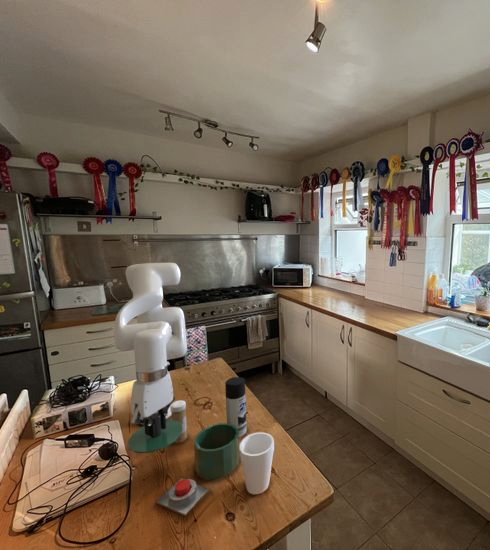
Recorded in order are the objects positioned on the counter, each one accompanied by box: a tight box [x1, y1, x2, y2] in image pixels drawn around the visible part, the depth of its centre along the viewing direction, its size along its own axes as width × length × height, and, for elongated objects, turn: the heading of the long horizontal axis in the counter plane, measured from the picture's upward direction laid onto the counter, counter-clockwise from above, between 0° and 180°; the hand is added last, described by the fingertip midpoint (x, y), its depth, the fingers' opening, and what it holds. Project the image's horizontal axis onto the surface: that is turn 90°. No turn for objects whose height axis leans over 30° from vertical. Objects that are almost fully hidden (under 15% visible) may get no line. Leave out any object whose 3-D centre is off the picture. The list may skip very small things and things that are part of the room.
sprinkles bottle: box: [171, 400, 188, 444], centre depth 100 cm, size 5×5×14 cm
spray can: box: [224, 376, 248, 438], centre depth 103 cm, size 7×7×20 cm
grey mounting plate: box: [155, 477, 210, 518], centre depth 78 cm, size 10×8×3 cm
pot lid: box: [127, 413, 183, 454], centre depth 85 cm, size 14×14×7 cm
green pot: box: [193, 422, 240, 480], centre depth 90 cm, size 13×13×10 cm
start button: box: [174, 478, 190, 496], centre depth 78 cm, size 4×4×2 cm
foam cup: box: [239, 431, 275, 495], centre depth 82 cm, size 10×9×13 cm
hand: (156, 430), depth 85 cm, fingers closed on pot lid, 2 cm apart
